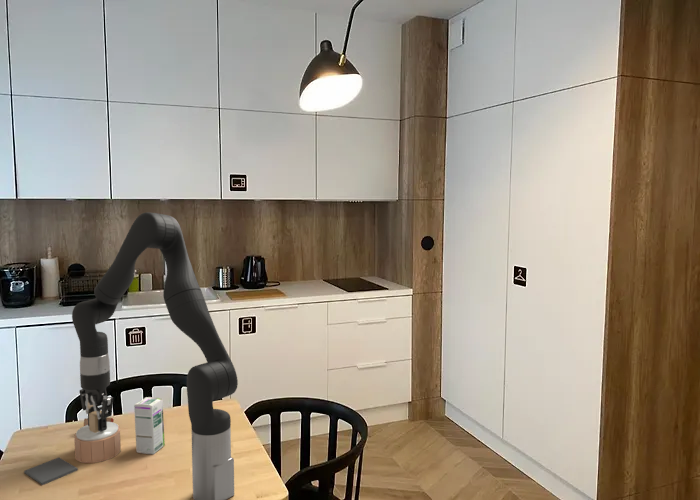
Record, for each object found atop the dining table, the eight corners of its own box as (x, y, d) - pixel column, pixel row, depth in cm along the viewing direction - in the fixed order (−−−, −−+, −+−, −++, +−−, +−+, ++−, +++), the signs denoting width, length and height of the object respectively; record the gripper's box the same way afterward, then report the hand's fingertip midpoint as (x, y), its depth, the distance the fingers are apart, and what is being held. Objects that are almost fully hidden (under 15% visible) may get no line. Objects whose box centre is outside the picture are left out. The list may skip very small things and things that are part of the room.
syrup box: (154, 454, 150) (152, 405, 148) (135, 452, 151) (133, 403, 149) (165, 445, 155) (163, 398, 154) (146, 443, 156) (145, 396, 155)
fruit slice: (80, 438, 160) (79, 422, 159) (90, 428, 166) (89, 413, 166) (108, 437, 160) (107, 421, 159) (117, 428, 167) (116, 412, 166)
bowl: (128, 450, 152) (128, 430, 151) (89, 467, 143) (88, 445, 142) (106, 439, 159) (105, 420, 158) (67, 454, 149) (66, 434, 149)
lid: (126, 430, 151) (125, 411, 151) (89, 444, 142) (88, 424, 142) (105, 421, 157) (104, 402, 157) (68, 434, 149) (67, 414, 148)
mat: (77, 470, 141) (77, 468, 141) (42, 485, 133) (42, 482, 133) (59, 459, 147) (59, 457, 146) (24, 472, 139) (24, 470, 139)
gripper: (121, 371, 147) (124, 430, 149) (94, 361, 155) (96, 417, 157) (95, 378, 141) (98, 439, 143) (68, 368, 149) (71, 426, 151)
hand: (97, 427), depth 150 cm, fingers open, 4 cm apart
